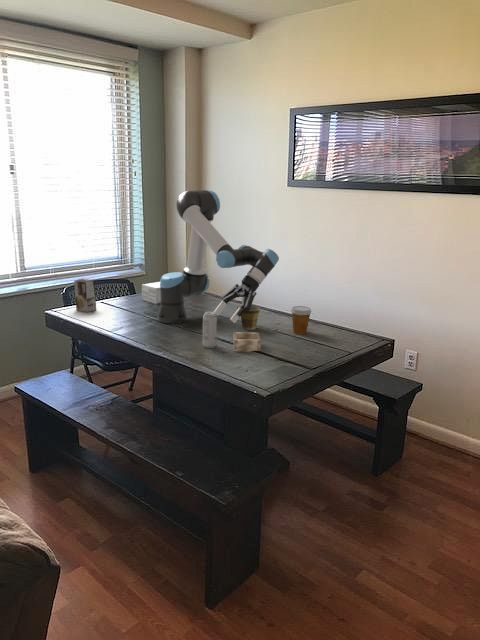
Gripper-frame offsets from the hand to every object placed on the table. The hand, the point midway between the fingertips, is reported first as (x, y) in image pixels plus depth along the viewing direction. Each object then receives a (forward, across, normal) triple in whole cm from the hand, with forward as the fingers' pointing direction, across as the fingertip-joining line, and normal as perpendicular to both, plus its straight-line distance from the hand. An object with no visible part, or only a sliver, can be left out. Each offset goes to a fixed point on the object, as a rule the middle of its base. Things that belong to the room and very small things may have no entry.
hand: (223, 317), depth 229 cm
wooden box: (+4, -8, -14) cm, 16 cm away
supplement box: (+1, +88, -17) cm, 89 cm away
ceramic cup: (-8, +17, -26) cm, 32 cm away
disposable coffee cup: (-20, -2, -38) cm, 43 cm away
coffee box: (+32, +85, +15) cm, 92 cm away
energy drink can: (+13, +1, -4) cm, 14 cm away
